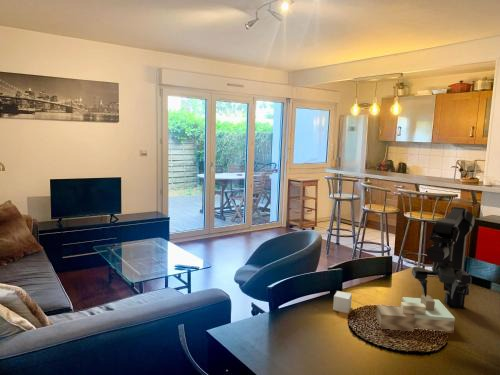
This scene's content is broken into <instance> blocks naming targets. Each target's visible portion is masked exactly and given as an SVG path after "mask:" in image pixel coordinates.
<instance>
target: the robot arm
mask: <svg viewBox="0 0 500 375" xmlns="http://www.w3.org/2000/svg"><path fill="white" fill-rule="evenodd" d="M450 209H451V210H450V212H449V213H448V214H447V215H446V217H445V218H441V219H438V220H437V221H436V222H435V223H434V224H433V226H432V229H431V231H430V232H431V233H430V236H429V238H428V239H429V241H430V242H431V241H432V242H433V245H431V246H429V247H428V248H427V250H426V258H427V259H428V260H429V261H430V262H432V267H431V271H430V270H426V269H425V268H424V267H419V266H418V267H417V266H414V267H413V268H412V269H411V275H412V276H413V278H414V279H416V280H417V281H418V282H419V283H420V286H421V289H422V291H423V293H422V294H423V295H424V296H425V297H426V295H428V293H427V292H428V291H427V290H428V279H427V278H428V277H429V278H430V277H431V278H438V280H439V282H440V283H442V284H443V291H446V292H445V293H444V300H443V302H444V304H445V305H446V306H447V307H448V308H449V309H460V310H466V306H465V300H466V299H465V298H466V296H469V295H470V285H471V284H472V281H473V280H472V279H473V278H472V276H471V275H470V274H469V273H467V271H466V270H464V266H465V256H466V255H465V254H466V245H467V238H468V237H467V236H468V235H469V233H470V232H471V231H472V230H473V228H474V226H475V216H474V214H473V213H471V212H469V211H468V209H467V208H465V207H462V206H452V207H451V208H450Z"/></svg>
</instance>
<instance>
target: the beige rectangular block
mask: <svg viewBox="0 0 500 375" xmlns="http://www.w3.org/2000/svg"><path fill="white" fill-rule="evenodd" d="M400 307H401V308H400V310H401V311H402V313H408V314H420V315H425V314H426V306H425V305H424V304H423V303H410V302H402V301H401V302H400Z"/></svg>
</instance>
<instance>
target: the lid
mask: <svg viewBox="0 0 500 375" xmlns="http://www.w3.org/2000/svg"><path fill="white" fill-rule="evenodd" d="M401 299H402V300H403V302H410V303H423V304H424V305H425V306H426V314H425V315H420V314H413V315H414V317H415V318H420V319H432V320H445V321H455V322H456V318H455V316H454V315H453V314H452V313H451V311H450V310H449V309H447V307H445V305H444V304H443V303H442V302H441V301H440V299H435V298H434V299H433V297H432V296H430V295H428V294H427V295H426V297H425V296H424V294H421V296H420V297H410V296H408V297H407V296H402V298H401ZM402 300H401V301H402Z"/></svg>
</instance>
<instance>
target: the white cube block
mask: <svg viewBox="0 0 500 375" xmlns="http://www.w3.org/2000/svg"><path fill="white" fill-rule="evenodd" d="M352 298H353V297H352V293H350V292H346V291H345V292H344V291H340V290H336V292H335V294H334V295H333V305H332V307H333V308H332V309H333V311H337V312H339V313H345V314H349V312H350V310H351V308H352Z"/></svg>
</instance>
